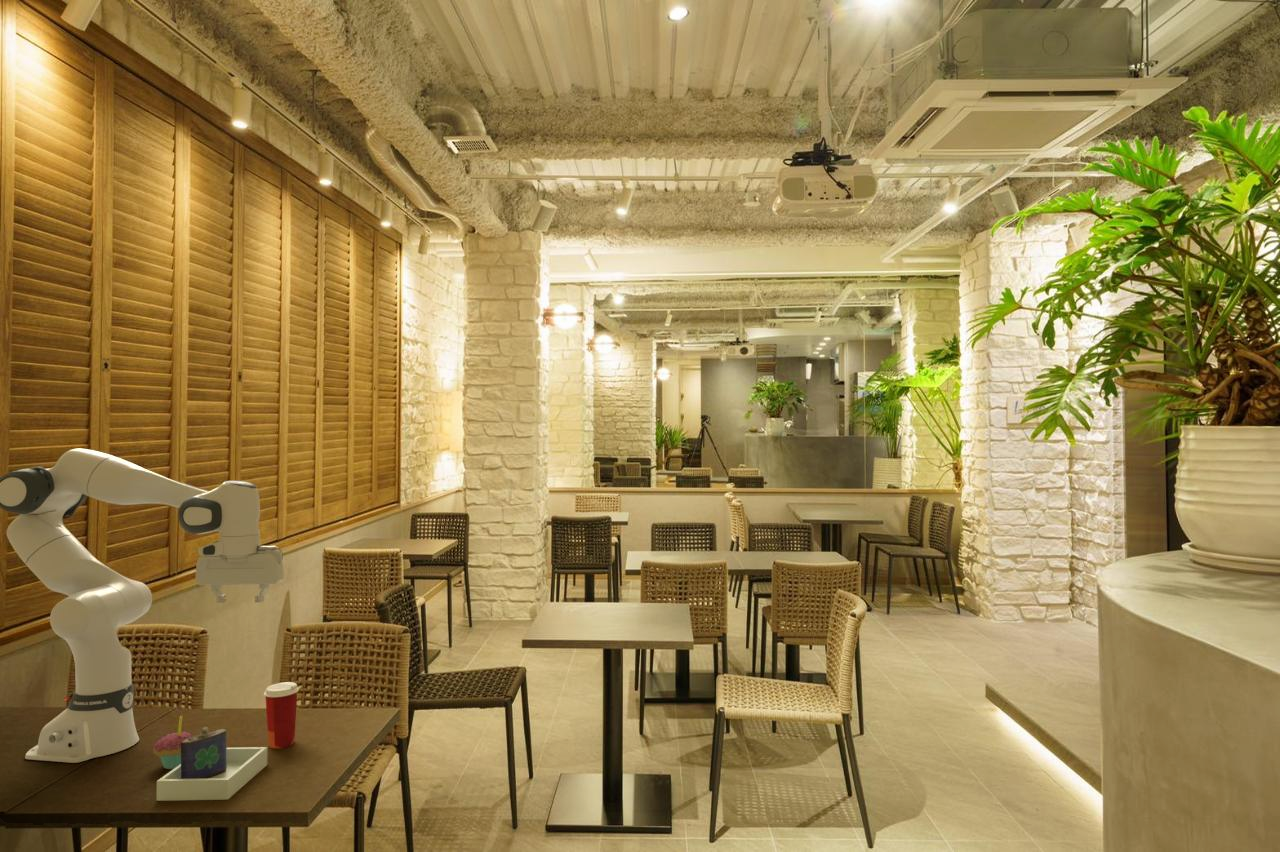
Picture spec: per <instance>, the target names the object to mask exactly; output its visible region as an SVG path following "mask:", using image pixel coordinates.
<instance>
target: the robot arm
mask: <svg viewBox="0 0 1280 852" xmlns="http://www.w3.org/2000/svg"><path fill="white" fill-rule="evenodd" d="M88 497H89V498H92V499H95V500H98V501H100V502H103V503H109V504H112V505H119V506H127V505H128V506H129V505H131V506H132V505H145V504H158V505H167V506H170V507H174V508H178V512H177V519H178V523H179V525H180V527H181V528H182V529H183V530H184V531H185V532H187V533H188V534H193V535H205V534H210V533H211V534H212V533H216V532H218V533H219V540H217V541H214V542H212V543H209V544H205V545H203V546H200V547H199V548H198V555H199V556H200V557H199V558H198V559H197V561H196V567H195V568H196V569H195V582H196V583H197V585H199V586H211V589H210V590H211V591H212V592H213V595H214V596H215V597H216V598H215V599H216V600H215V601H216V602H215V603H216V604H224V603H226V602H227V599H226V598H227V595H226V594H224V593H223V592H222V590H221V588H223V587H222V586H223V585H224V586H227V585H228V586H229V585H230V586H232V585H233V586H234V585H236V586H237V585H239V586H240V585H241V586H242V585H258V586H259V587H258V588H259V590H260V591H259V593H257V594H256V595H255V596H254V603H258V604H259V603H261V604H262V603H264V602H265V594H266V593H267V591H268V590H269V587H270V585H275V584H276V585H277V584H279V583H281V582H282V581H283V580H284V578H285V577H284V576H285V575H284V565H283V558H284V557H283V556H284V552H283V550H282V549H281V548H280V547H278V546H276V545H270V546H269V545H268V546H267V545H261V530H260V527H259V522H260V517H261V502H260V500H261V499H260V493H259V490H258V488H257V486H256V485H255V484H253V483H251V482H250V481H249V482H248V481H243V480H225V481H224V482H222V483H221V484H220V485H219V486H217V487H216V488H214V489H211V490H206V489H203V488H200V487H198V486H194V485H191V484H187V483H184V482H180V481H179V480H176V479H175V480H174V479H171V478H168V477H166V476H163V475H162V474H159V473H157V472H154V471H151V470H148V469H146V468H144V467H142V466H139V465H137V464H135V463H133V462H131V461H128V460H125V459H123V458H120V457H117V456H114V455H112V454H109V453H107V452H106V453H105V452H102V451H97V450H94V449H87V448H81V447H80V448H73V449H69V450H68V451H66V452H64V453H63V454H62V455H61V456H60V457H59V458H58V459H57V461H56V463H55V465H53V466H52V467H50V468H45V467H44V466H36V467H35V466H34V467H29V468H22V469H17V470H13V471H10V472H8V473H6V474H3V475H2V476H0V509H2V510H3V511H5V512H8V513H11V514H16V515H18V516H17V517H16V518H15V519H14V520H12V521H11V522H10V524H9V525H7V526H8V527H7V529H6V537H7V539H8V542H9V543H10V545H11V546H12V548H13V550H14V551H15V553H16V554H17V555H18V557H19V558H20V560H22V562H23V563H24V564H25V565H26V567H27V568H28V569H29V570H30V571H31V572H32V573H33V574H34V576H35V577H37V578H38V580H39V581H40V582H41V584H43V585H44V586H45V587H46V588H47V589H48V590H50V591H53V592H55V593H60V594H63V595H65V596H67V597H66V598H63V599H62V600H60V601H58V602H57V603H56V604H55V605H54V606H53V608H52V609H51V611H50V617H49V623H50V626H51V629H52V631H53V632H54V633H55V635H57V636H58V637H59V638H61V639H63V640H64V641H66V642H67V644H68V646H69V648H70V651H71V652H72V656H73V660H74V666H75V667H74V668H75V671H74V672H75V691H74V692H72V693H70V694H68V695H67V696H65V697H63V699H64V701H63V703H66V702H68V701H69V703H68V706H67V708H66V709H65V710H63V711H62V712H61V713H60V714H58V715H57V716H55V717H54V718H53V719H52V720H50V721H49V722H48V723H46V724H45V725H44V727H42V729H41V731H40V733H39V737H38V742H37V744H36V745H35V746H33V747H32V748H30V749H29V750H28V751H27V752H26V753H25V759H26V760H33V761H45V762H58V763H61V762H62V763H72V764H76V763H81V762H84V761H88V760H90V759H94V758H99V757H104V756H107V755H111V754H116V753H119V752H121V751H124V750H126V749H129V748H130V747H132V746H135V744H137V743H138V742H139V741H140V737H139V735H138V731H137V729H136V728H137V727H136V724H135V720H134V719H135V718H134V712H133V705H134V683H133V682H132V653H131V651H130V649H128V648H127V647H125V646H123V645H122V644H121V642H120V640H119V637H118V628H119V627H122V626H126V625H128V624H131V623H133V622H135V621H136V620H138V619H139V618H141V617H143V616H144V615H145V614H146V613H147V612H148V611H149V610H150V609H151V607H152V604H153V595H152V594H153V593H152V591H151V589H150V588H149V586H148V585H146V583H144V582H141V581H138V580H134V579H131V578H129V577H127V576H124V575H123V574H120V573H119V572H117V571H115V570H114V569H112V568H110V567H109V566H108V565H106V564H104V563H103V562H101V561H100V560H99V559H97V558H96V557H95V556H94V555H92V554H91V552H90V551H88V549H87V548H86V547H85V546H84V545H83V544H82V543H81V542H80V541H79V540H78V538H77V537H75V536H74V534H73V533H71V532H70V531H69V529H68V528H67V527H66V526H65V524H64V522H63V520H67V519H69V518H71V517H72V516H74V514H75V512H76V511H77V509H79V508H80V507H81V506H82V505H83V504H84V503H85V501H86V500H87V498H88Z"/></svg>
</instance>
